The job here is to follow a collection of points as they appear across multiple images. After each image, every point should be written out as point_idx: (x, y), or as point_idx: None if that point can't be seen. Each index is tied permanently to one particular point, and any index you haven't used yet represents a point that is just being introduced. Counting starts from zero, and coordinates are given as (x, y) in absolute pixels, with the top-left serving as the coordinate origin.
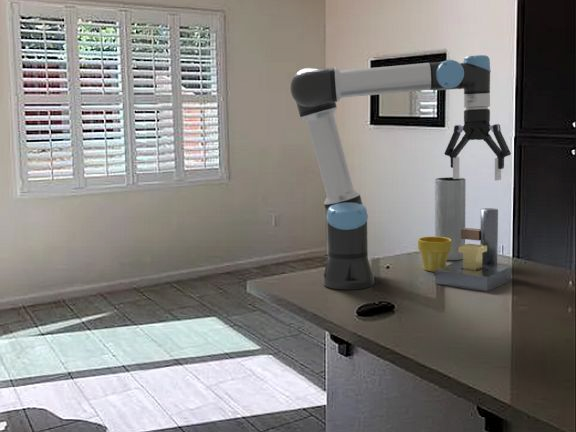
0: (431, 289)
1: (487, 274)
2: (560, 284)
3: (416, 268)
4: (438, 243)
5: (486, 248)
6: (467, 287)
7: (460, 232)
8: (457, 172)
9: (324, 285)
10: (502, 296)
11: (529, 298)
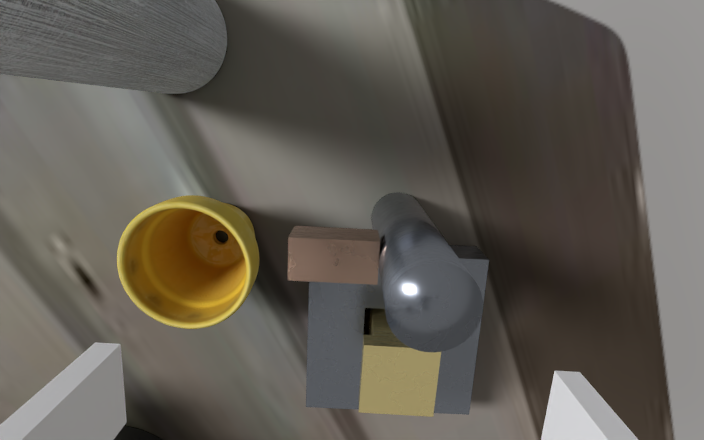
0: (329, 432)
1: (458, 385)
2: (618, 229)
3: None
4: (231, 314)
5: None
6: None
7: (184, 39)
8: (85, 423)
9: None
10: (506, 409)
11: None
